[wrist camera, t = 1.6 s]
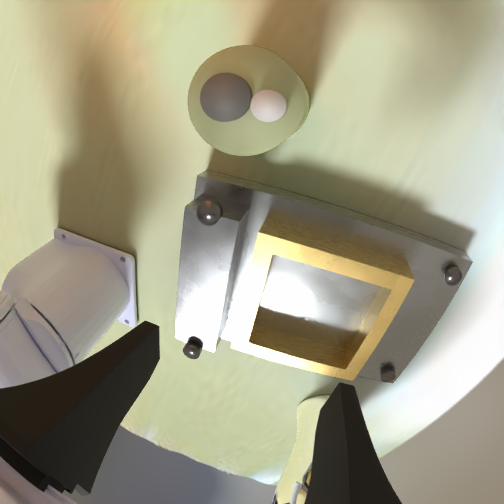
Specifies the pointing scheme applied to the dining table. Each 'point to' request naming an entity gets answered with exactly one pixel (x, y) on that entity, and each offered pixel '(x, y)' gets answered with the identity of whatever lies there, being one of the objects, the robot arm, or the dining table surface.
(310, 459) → the beer glass
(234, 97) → the spout can
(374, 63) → the dining table surface
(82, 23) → the dining table surface
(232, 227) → the grey metal fixture plate
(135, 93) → the dining table surface
